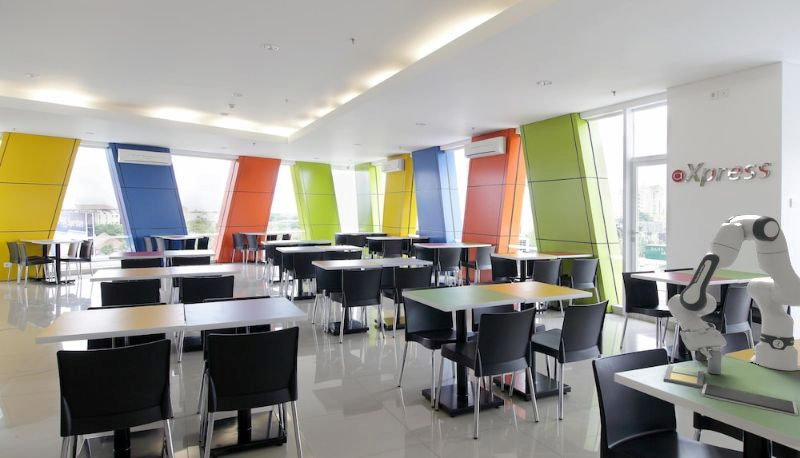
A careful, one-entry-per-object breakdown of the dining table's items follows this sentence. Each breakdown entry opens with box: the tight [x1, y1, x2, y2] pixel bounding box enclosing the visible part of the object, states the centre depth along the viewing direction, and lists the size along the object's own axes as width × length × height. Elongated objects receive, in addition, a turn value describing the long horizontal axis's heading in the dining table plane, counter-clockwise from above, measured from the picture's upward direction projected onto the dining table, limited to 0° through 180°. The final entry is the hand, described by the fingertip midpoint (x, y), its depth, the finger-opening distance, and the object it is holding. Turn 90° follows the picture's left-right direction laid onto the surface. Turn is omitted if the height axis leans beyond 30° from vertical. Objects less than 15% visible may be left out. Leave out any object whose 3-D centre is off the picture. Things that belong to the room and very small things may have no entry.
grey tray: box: [700, 383, 799, 417], centre depth 167 cm, size 13×27×2 cm, turn 53°
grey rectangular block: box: [707, 347, 723, 375], centre depth 197 cm, size 5×5×11 cm
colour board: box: [663, 364, 705, 389], centre depth 191 cm, size 22×13×1 cm, turn 146°
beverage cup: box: [694, 316, 709, 361], centre depth 218 cm, size 7×7×20 cm
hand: (716, 357), depth 196 cm, fingers closed on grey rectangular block, 5 cm apart
